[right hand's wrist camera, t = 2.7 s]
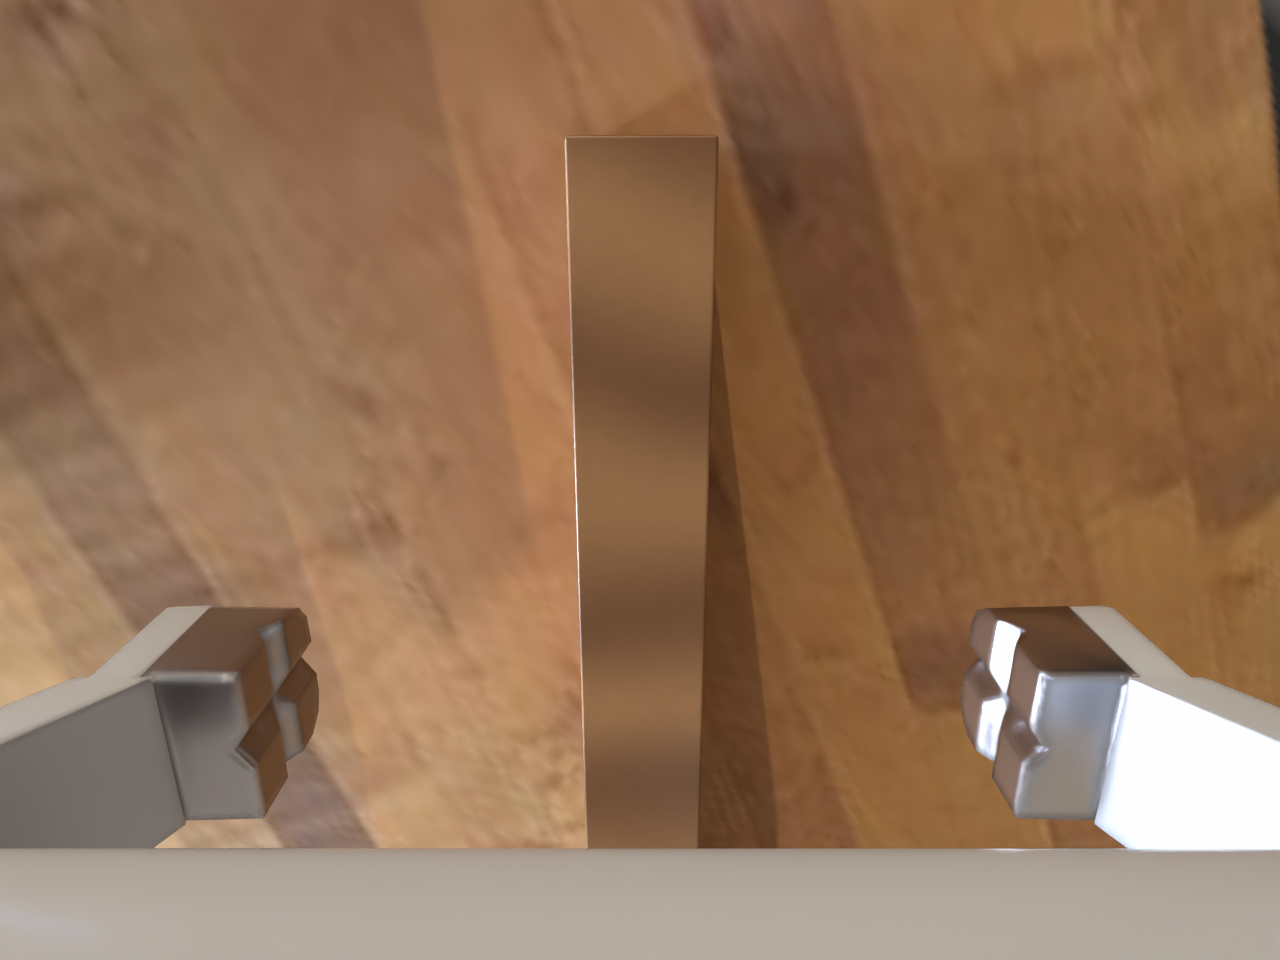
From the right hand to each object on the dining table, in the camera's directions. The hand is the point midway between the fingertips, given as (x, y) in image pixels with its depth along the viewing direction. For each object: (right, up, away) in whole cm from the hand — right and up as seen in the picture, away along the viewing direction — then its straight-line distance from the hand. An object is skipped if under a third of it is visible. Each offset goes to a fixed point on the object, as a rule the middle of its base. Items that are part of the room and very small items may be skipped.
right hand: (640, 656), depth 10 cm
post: (0, -17, +35) cm, 39 cm away
